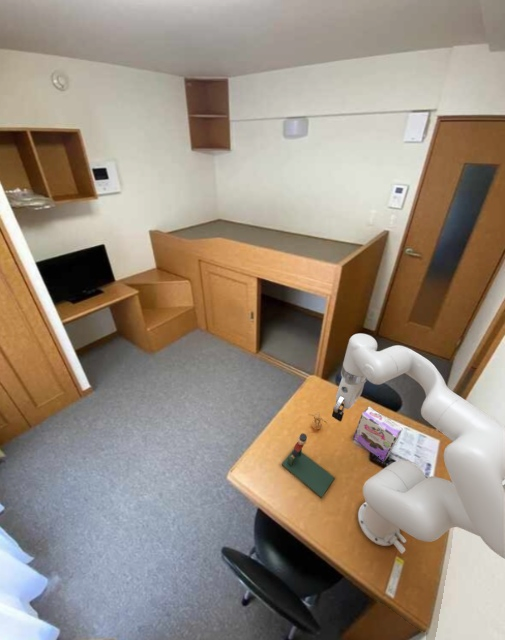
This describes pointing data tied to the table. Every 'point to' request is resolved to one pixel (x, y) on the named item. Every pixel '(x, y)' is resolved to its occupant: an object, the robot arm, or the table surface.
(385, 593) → the table surface
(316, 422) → the figurine
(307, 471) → the stand
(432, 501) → the robot arm
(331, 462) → the table surface
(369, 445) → the candy box
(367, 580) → the table surface
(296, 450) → the toy soldier
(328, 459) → the table surface
